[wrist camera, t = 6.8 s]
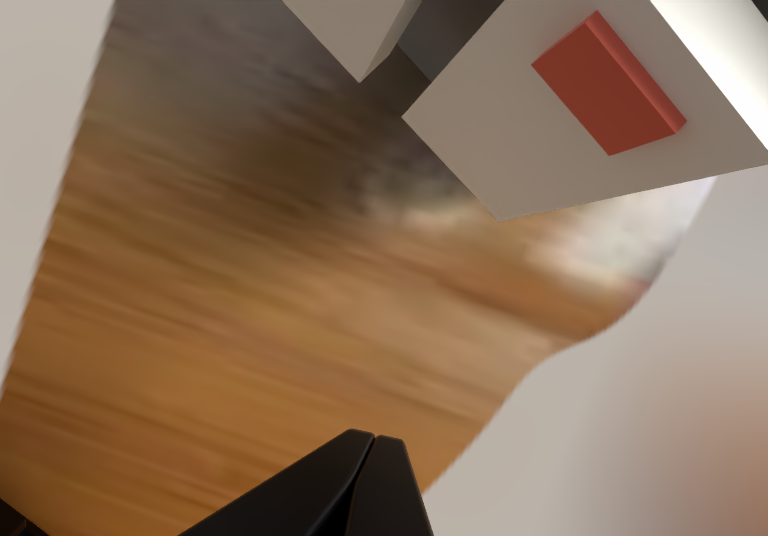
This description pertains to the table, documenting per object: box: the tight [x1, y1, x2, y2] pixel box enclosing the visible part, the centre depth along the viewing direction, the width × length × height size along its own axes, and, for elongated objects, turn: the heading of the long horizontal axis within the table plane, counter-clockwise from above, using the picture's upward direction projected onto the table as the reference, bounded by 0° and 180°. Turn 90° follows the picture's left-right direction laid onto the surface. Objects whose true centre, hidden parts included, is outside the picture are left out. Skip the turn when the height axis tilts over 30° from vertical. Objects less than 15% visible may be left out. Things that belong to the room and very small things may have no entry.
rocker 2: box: [402, 0, 768, 222], centre depth 10 cm, size 2×4×8 cm, turn 45°
